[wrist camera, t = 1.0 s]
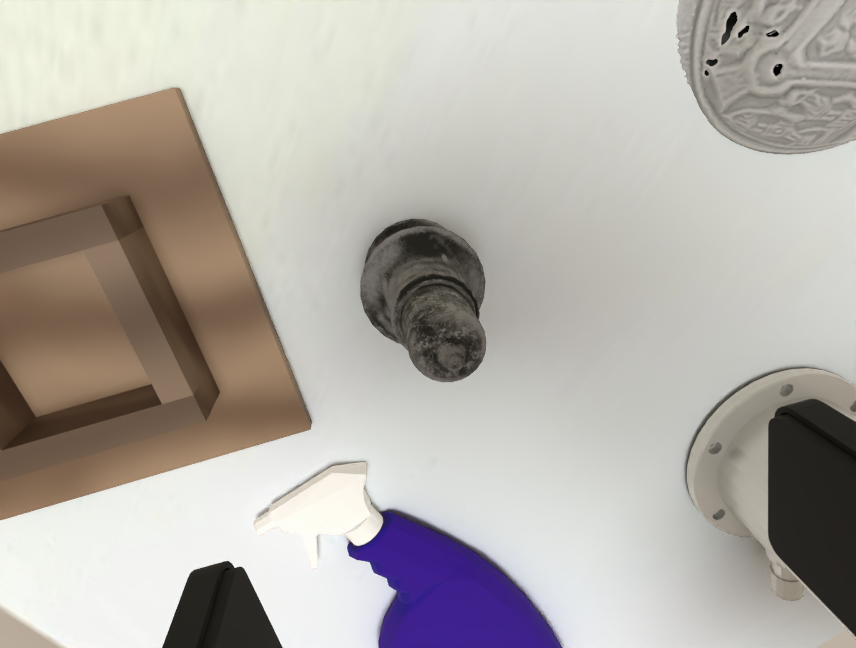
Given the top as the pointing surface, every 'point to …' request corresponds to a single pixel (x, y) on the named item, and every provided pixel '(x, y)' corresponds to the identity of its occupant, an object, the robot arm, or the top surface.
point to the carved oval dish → (753, 71)
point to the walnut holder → (126, 309)
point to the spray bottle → (412, 569)
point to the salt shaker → (427, 297)
